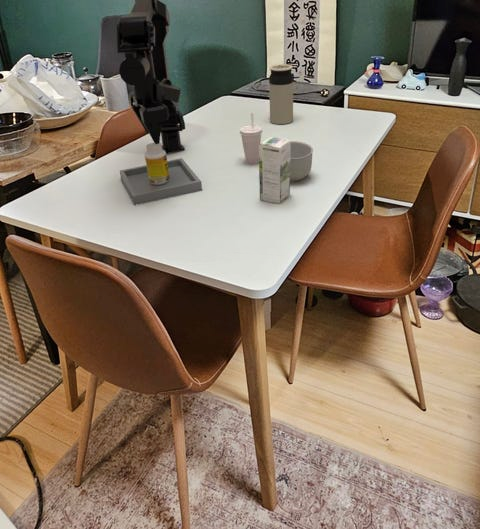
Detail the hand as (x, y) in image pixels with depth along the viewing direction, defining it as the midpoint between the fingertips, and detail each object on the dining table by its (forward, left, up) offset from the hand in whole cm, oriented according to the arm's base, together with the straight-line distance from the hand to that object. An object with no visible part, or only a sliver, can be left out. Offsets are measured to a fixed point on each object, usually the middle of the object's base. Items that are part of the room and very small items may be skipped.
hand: (152, 138), depth 126 cm
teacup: (+12, +32, -13) cm, 37 cm away
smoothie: (-2, +28, -13) cm, 31 cm away
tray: (0, 0, -13) cm, 13 cm away
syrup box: (+22, +24, -13) cm, 35 cm away
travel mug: (-30, +51, -13) cm, 61 cm away
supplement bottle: (0, 0, -12) cm, 12 cm away
